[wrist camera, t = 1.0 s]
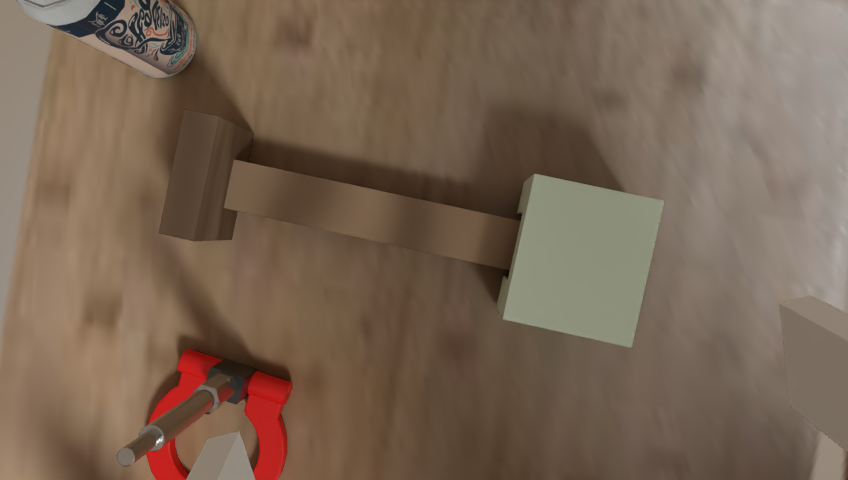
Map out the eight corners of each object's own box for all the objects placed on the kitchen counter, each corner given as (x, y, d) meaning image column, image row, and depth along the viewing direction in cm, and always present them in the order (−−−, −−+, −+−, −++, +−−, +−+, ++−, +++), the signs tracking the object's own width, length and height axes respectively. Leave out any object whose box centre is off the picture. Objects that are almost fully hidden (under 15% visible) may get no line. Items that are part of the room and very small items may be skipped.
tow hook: (267, 525, 42) (310, 382, 41) (167, 682, 28) (228, 472, 27) (139, 481, 42) (178, 339, 42) (-22, 615, 29) (33, 406, 28)
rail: (639, 215, 40) (672, 212, 34) (615, 324, 40) (643, 340, 34) (223, 127, 41) (184, 109, 35) (201, 233, 41) (158, 233, 35)
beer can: (198, 82, 41) (91, 20, 29) (125, 78, 42) (-9, 15, 30) (202, 7, 41) (97, -85, 29) (130, 4, 42) (-3, -89, 30)
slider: (634, 205, 40) (664, 200, 34) (606, 331, 40) (631, 347, 34) (523, 182, 40) (534, 173, 34) (496, 306, 40) (502, 319, 35)
